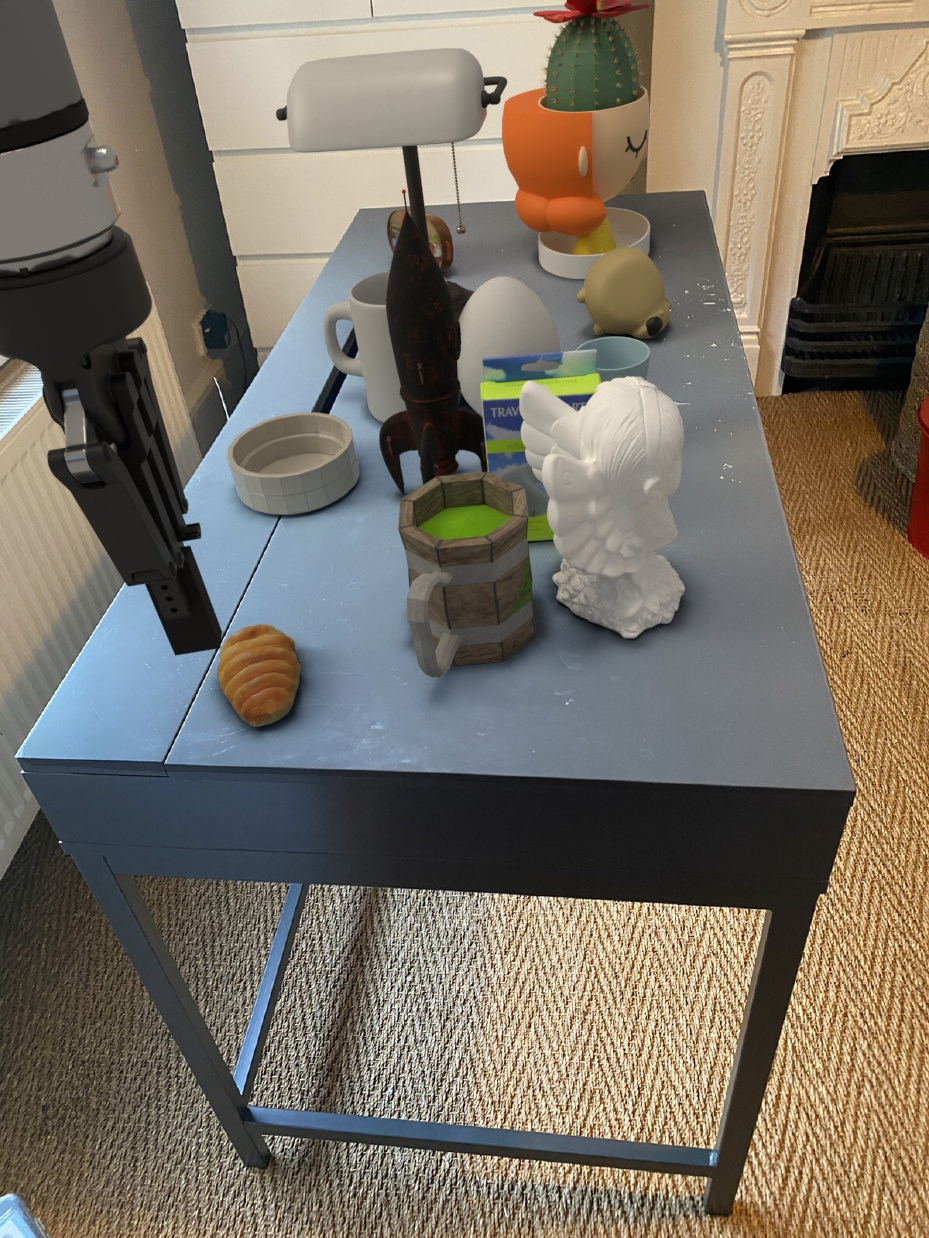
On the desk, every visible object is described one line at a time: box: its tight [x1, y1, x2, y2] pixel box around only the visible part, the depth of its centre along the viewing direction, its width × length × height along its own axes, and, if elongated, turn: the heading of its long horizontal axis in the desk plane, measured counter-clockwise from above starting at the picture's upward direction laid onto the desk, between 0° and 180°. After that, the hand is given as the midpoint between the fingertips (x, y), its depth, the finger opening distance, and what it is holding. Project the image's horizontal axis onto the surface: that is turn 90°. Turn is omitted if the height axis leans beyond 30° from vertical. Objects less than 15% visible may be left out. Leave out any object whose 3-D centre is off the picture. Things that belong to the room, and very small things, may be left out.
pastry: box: [216, 623, 302, 728], centre depth 75 cm, size 9×7×4 cm
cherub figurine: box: [519, 376, 686, 640], centre depth 74 cm, size 13×12×20 cm
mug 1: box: [323, 269, 461, 424], centre depth 108 cm, size 16×11×14 cm
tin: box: [386, 207, 454, 273], centre depth 144 cm, size 15×3×8 cm, turn 37°
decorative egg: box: [457, 275, 562, 417], centre depth 105 cm, size 12×12×15 cm
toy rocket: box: [378, 188, 488, 497], centre depth 86 cm, size 9×9×30 cm
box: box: [480, 349, 601, 542], centre depth 84 cm, size 10×4×17 cm, turn 88°
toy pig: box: [576, 247, 672, 340], centre depth 119 cm, size 10×12×11 cm
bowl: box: [226, 412, 361, 516], centre depth 99 cm, size 13×13×5 cm
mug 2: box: [397, 471, 537, 678], centre depth 75 cm, size 16×11×12 cm
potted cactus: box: [501, 0, 652, 280], centre depth 133 cm, size 22×22×35 cm
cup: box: [574, 336, 651, 383], centre depth 97 cm, size 8×8×10 cm
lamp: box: [275, 47, 508, 321], centre depth 118 cm, size 26×24×34 cm
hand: (198, 643), depth 56 cm, fingers closed
